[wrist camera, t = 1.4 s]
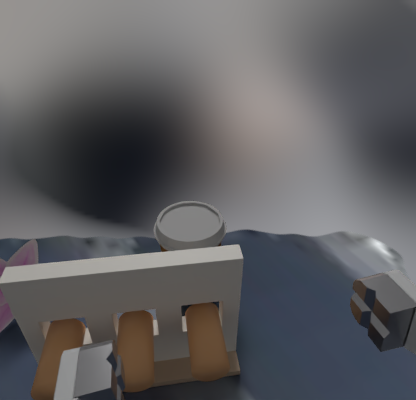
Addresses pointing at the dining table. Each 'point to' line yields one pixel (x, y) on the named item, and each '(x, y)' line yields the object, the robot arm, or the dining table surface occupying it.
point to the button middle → (136, 349)
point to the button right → (206, 342)
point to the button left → (55, 355)
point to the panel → (131, 299)
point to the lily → (25, 255)
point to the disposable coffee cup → (189, 226)
